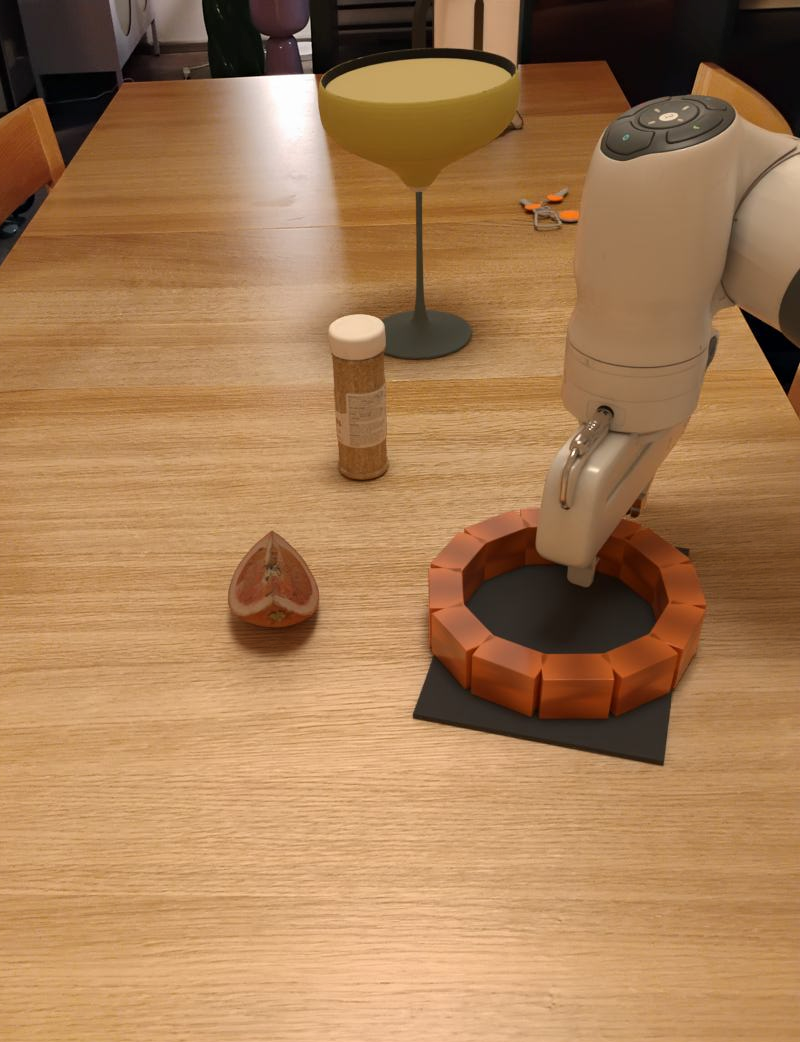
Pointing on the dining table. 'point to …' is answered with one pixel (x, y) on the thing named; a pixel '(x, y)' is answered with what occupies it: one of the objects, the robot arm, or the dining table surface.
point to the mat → (555, 628)
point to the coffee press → (471, 27)
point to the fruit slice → (273, 585)
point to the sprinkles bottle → (360, 394)
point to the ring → (564, 678)
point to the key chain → (540, 210)
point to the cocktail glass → (419, 145)
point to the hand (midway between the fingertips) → (607, 544)
